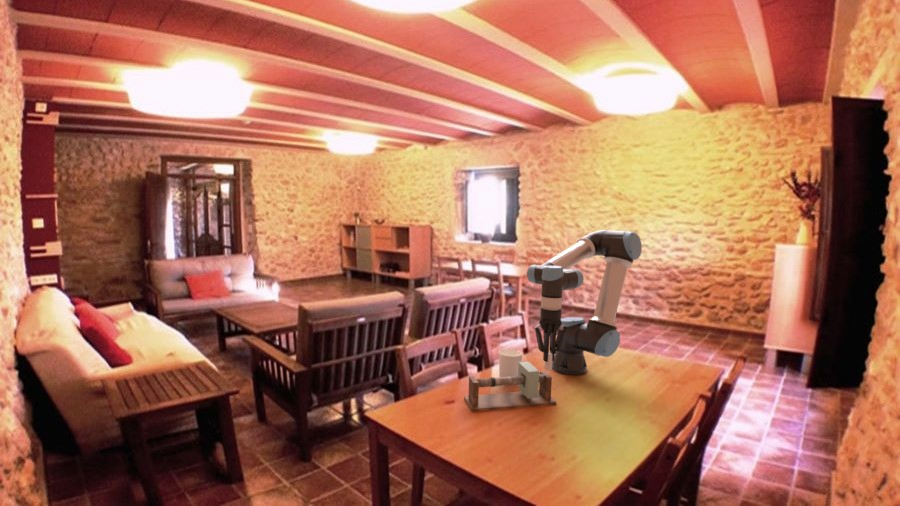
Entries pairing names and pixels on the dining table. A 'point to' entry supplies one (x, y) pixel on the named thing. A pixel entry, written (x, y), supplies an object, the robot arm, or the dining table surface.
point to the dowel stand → (507, 399)
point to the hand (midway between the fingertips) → (548, 369)
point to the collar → (529, 379)
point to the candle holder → (509, 362)
